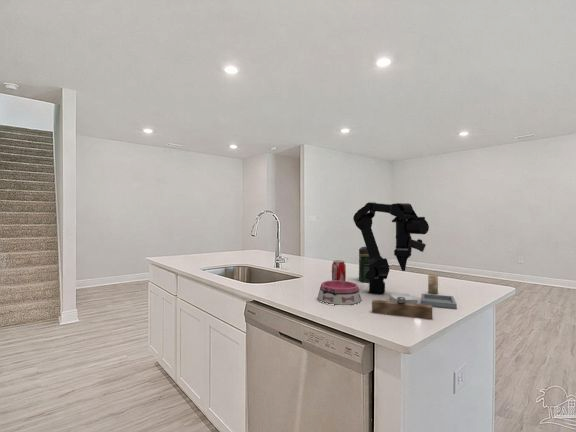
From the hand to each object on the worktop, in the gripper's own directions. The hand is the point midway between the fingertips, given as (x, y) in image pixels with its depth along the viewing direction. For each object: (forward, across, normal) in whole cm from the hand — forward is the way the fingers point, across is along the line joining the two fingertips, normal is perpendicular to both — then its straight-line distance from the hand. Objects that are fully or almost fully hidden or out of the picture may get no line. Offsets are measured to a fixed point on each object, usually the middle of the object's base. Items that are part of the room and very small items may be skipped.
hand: (403, 270), depth 127 cm
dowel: (+12, +18, -12) cm, 25 cm away
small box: (+13, -13, 0) cm, 18 cm away
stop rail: (+12, -19, 0) cm, 23 cm away
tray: (+12, +1, -13) cm, 18 cm away
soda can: (+12, +20, +32) cm, 40 cm away
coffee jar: (+12, +34, +20) cm, 42 cm away
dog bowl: (+13, -8, +25) cm, 29 cm away
